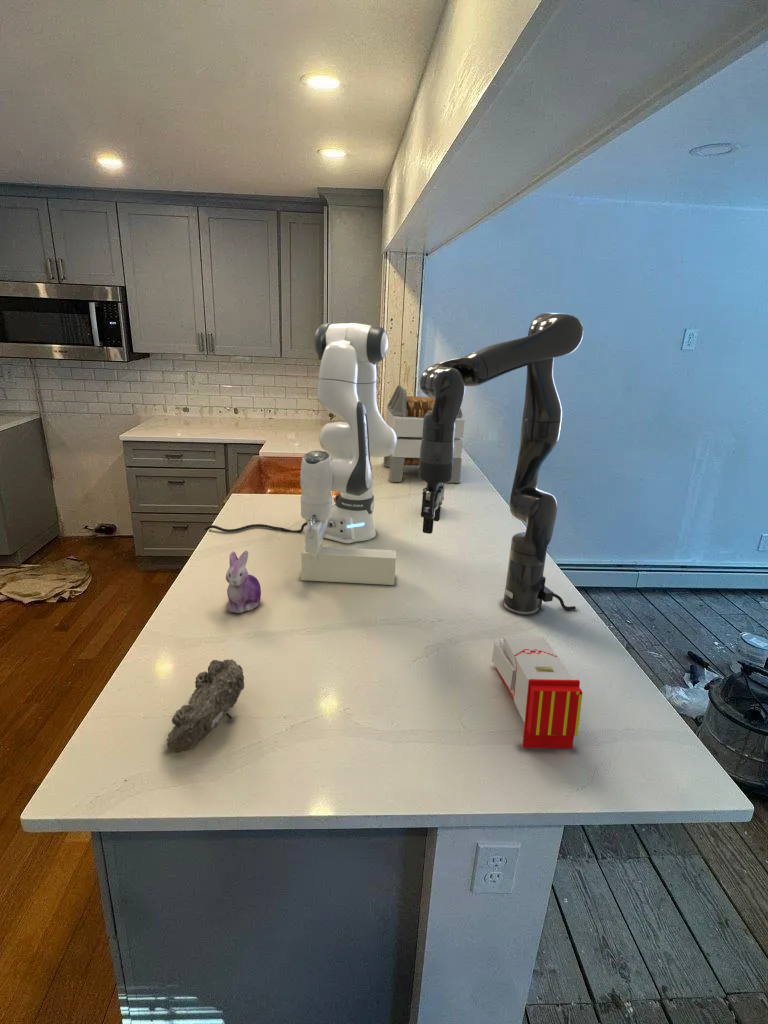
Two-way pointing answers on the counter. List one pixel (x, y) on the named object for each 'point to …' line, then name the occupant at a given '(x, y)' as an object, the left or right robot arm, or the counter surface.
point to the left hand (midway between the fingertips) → (316, 554)
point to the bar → (350, 565)
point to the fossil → (206, 705)
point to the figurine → (241, 585)
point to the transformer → (415, 433)
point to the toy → (539, 691)
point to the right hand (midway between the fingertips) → (431, 526)
